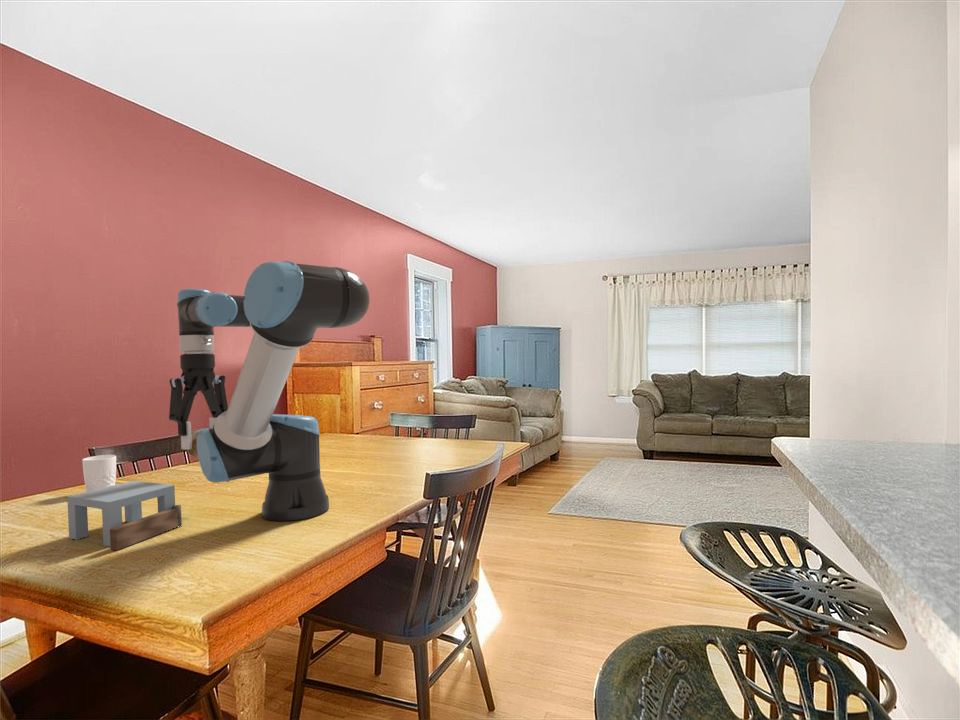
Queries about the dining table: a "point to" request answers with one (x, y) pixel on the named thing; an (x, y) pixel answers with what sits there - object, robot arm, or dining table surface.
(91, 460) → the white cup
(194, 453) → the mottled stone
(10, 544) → the dining table surface
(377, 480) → the dining table surface
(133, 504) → the stool
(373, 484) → the dining table surface
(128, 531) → the brown wooden plank
